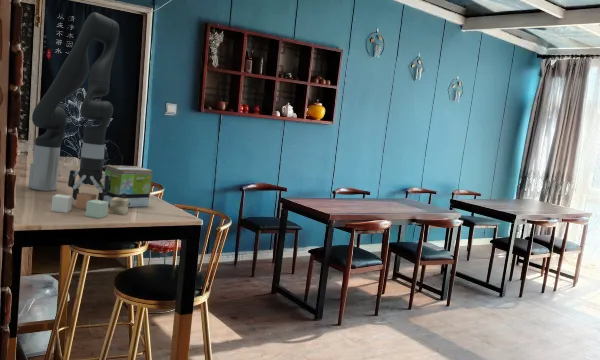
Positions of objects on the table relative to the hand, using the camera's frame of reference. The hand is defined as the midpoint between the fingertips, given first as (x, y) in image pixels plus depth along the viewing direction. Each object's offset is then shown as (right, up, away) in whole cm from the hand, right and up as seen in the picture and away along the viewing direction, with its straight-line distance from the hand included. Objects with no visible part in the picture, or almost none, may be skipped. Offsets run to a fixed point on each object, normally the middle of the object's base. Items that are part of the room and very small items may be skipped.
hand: (87, 201), depth 185 cm
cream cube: (-5, -3, -10) cm, 11 cm away
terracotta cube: (-1, -2, 0) cm, 2 cm away
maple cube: (+11, -4, 0) cm, 12 cm away
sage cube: (+7, -5, -10) cm, 13 cm away
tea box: (+8, -2, +15) cm, 17 cm away
